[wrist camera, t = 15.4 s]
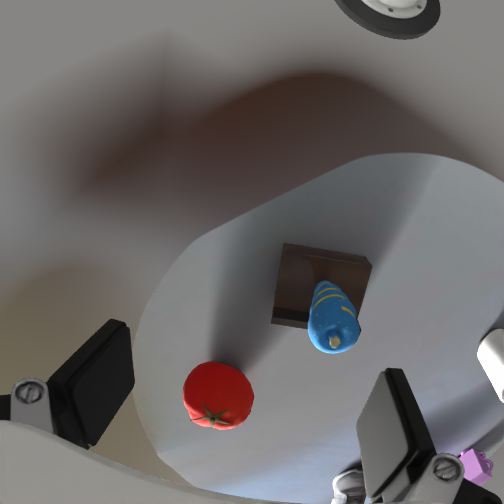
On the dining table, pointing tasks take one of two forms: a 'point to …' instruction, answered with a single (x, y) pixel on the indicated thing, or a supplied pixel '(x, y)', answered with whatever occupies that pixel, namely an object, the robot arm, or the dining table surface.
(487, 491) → the robot arm
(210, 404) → the tomato
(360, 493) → the athletic shoe
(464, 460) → the teapot
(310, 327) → the ornament
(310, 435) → the dining table surface
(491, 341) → the cup
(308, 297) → the shelf
